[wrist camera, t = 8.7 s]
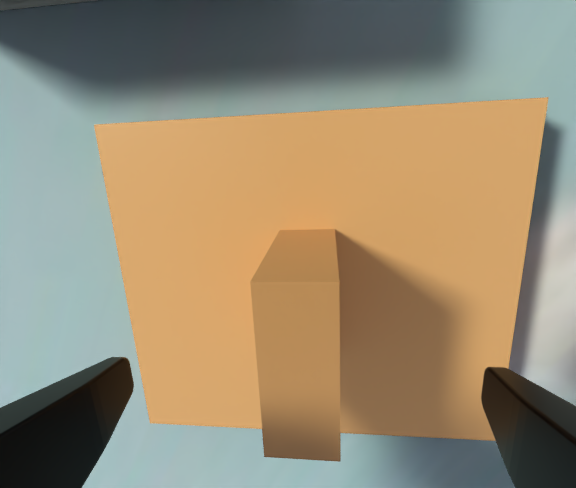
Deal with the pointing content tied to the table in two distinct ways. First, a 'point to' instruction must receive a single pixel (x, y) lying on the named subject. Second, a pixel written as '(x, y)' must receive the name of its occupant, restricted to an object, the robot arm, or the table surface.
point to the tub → (33, 3)
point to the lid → (324, 266)
